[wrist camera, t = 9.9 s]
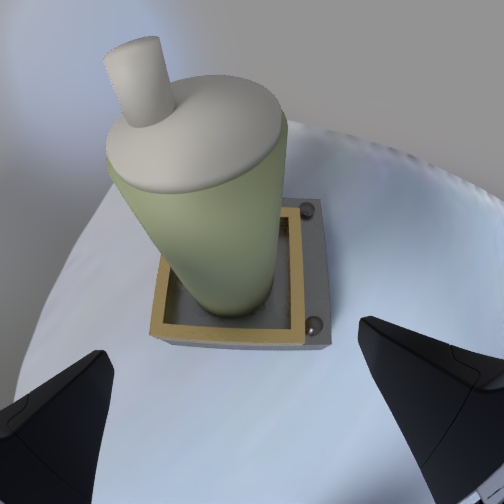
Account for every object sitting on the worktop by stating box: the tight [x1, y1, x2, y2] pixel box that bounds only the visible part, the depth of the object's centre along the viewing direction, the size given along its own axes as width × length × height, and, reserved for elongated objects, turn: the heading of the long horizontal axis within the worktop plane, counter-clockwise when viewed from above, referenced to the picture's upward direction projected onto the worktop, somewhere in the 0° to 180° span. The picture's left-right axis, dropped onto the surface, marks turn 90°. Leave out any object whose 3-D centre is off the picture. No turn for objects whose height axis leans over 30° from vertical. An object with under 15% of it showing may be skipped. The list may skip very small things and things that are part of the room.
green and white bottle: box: [103, 36, 288, 318], centre depth 12 cm, size 6×6×15 cm
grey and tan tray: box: [149, 198, 332, 350], centre depth 19 cm, size 11×11×4 cm
